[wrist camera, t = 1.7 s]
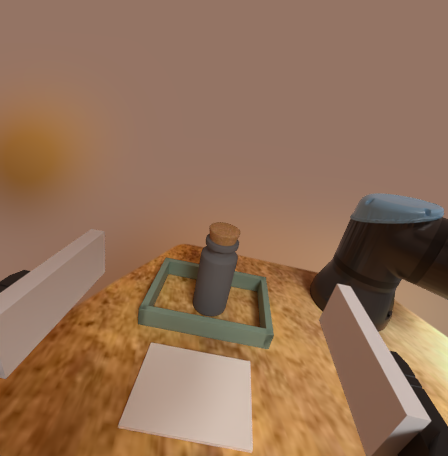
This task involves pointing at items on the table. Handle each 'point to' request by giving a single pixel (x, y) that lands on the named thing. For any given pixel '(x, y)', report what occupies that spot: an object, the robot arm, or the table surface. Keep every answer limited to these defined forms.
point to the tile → (192, 398)
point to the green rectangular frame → (205, 324)
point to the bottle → (216, 269)
